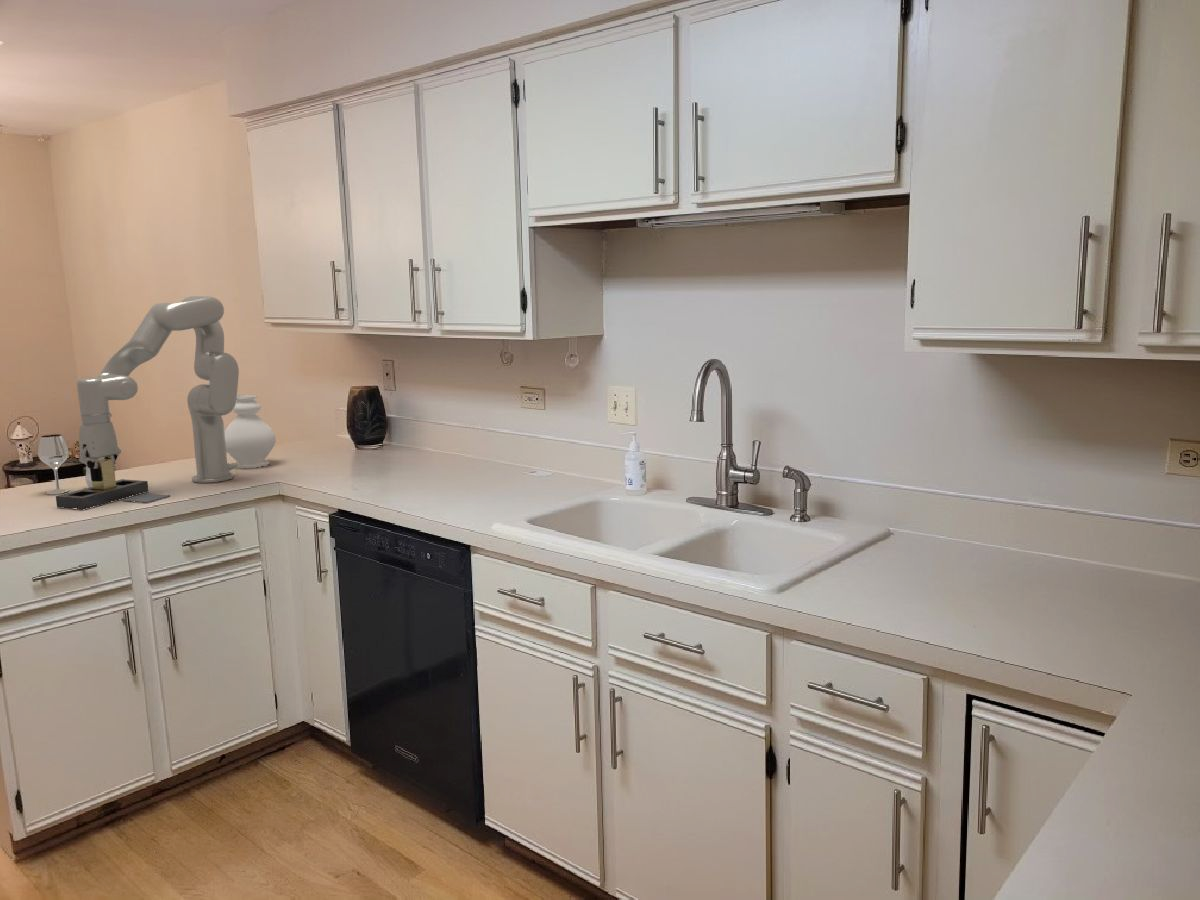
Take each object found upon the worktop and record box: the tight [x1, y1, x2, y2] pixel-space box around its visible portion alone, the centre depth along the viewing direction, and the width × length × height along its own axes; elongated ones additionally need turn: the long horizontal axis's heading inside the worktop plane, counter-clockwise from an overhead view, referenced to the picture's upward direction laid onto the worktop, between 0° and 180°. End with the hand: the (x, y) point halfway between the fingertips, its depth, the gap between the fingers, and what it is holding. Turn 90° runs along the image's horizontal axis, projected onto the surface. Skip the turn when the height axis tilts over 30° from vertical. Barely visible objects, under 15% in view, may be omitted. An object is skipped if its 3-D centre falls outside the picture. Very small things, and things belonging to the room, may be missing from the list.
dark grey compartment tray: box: [55, 479, 149, 510], centre depth 268 cm, size 24×10×4 cm, turn 163°
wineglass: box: [37, 433, 70, 495], centre depth 277 cm, size 8×8×18 cm
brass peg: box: [92, 459, 117, 491], centre depth 267 cm, size 4×4×10 cm
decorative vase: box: [224, 394, 276, 469], centre depth 317 cm, size 18×18×25 cm
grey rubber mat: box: [122, 492, 171, 504], centre depth 268 cm, size 9×9×1 cm
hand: (103, 478), depth 267 cm, fingers closed on brass peg, 4 cm apart
